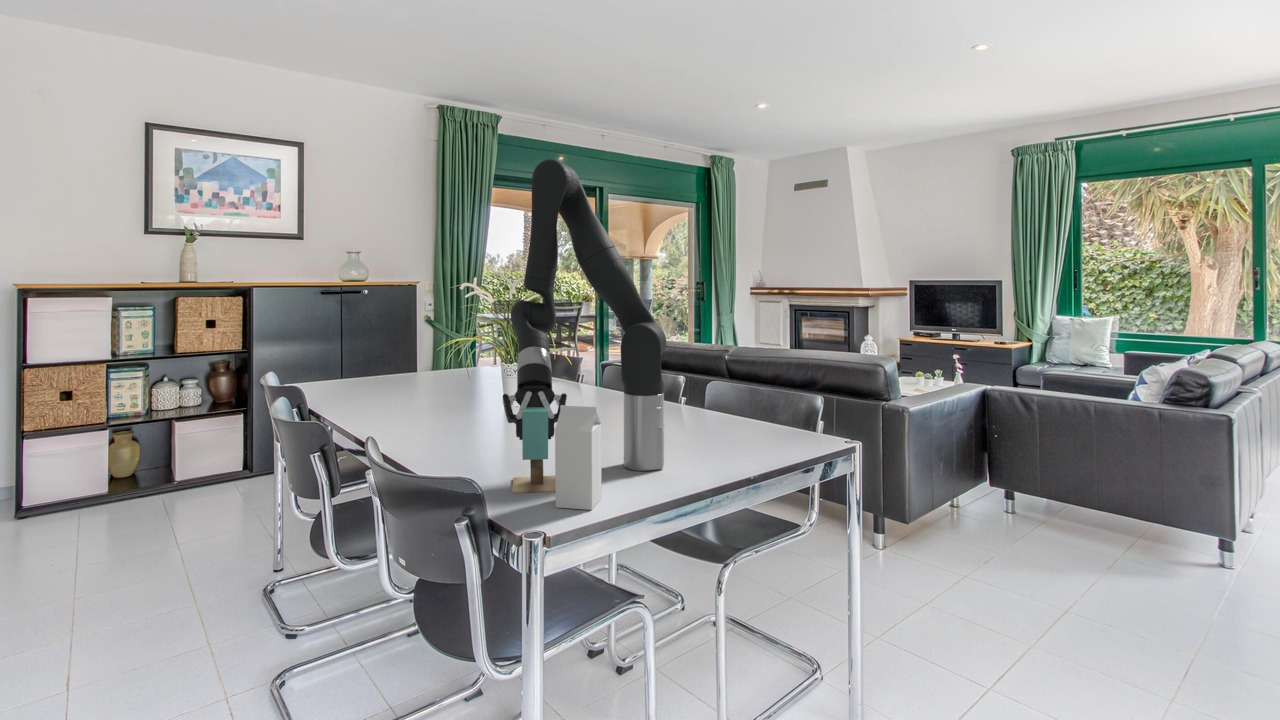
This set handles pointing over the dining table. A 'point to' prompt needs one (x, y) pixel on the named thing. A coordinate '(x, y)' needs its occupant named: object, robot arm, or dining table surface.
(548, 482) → the post
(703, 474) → the dining table surface
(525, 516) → the dining table surface
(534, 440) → the tall teal foam brick
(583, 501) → the milk carton
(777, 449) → the dining table surface
